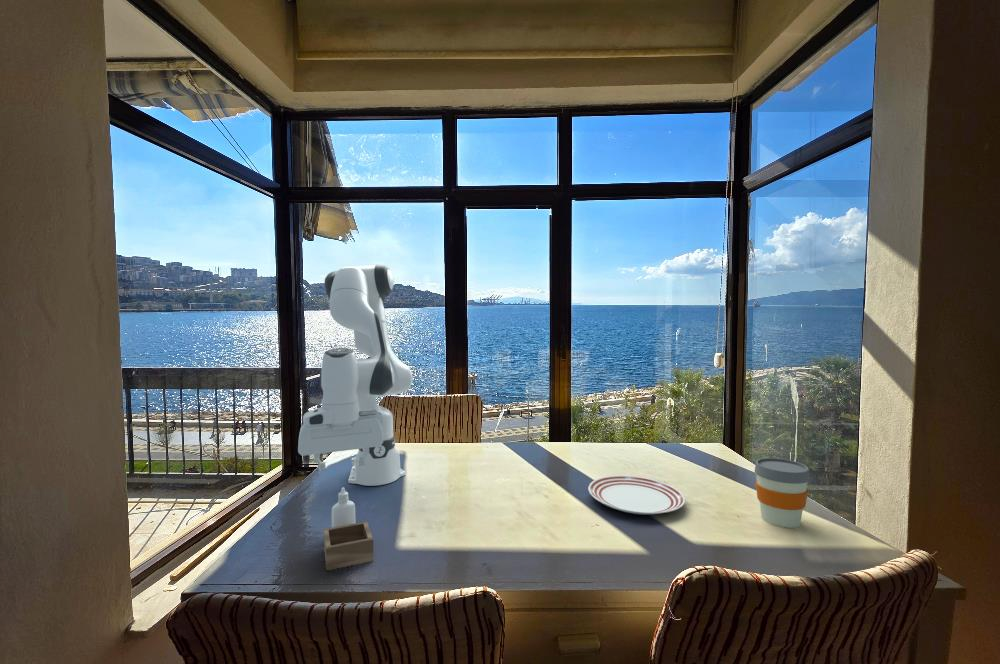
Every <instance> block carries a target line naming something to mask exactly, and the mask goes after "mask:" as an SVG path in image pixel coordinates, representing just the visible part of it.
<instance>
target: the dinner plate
mask: <svg viewBox="0 0 1000 664" xmlns="http://www.w3.org/2000/svg"><path fill="white" fill-rule="evenodd" d="M587 489H588V493H589V495H591V497H592V498H594V500H596V501H598V502H599V503H601V504H603V505H604V506H606V507H609V508H611V509H614V510H618V511H620V512H622V513H627V514H631V515H632V514H633V515H646V516H647V515H657V514H658V515H660V514H665V513H671V512H675V511H677V510H680V509H681V508H682V507H683V506H684V505H685V503H686V498H685V495H684V494H683V493H682V492H681V491H680V490H679V489H677V488H676V487H674V486H672V485H670V484H667V483H665V482H663V481H660V480H657V479H653V478H648V477H644V476H636V475H621V474H620V475H607V476H602V477H599V478H597V479H594V480H592V481H591V482H590V483H589V485H588V487H587Z"/></svg>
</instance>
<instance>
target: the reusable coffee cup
mask: <svg viewBox="0 0 1000 664" xmlns="http://www.w3.org/2000/svg"><path fill="white" fill-rule="evenodd" d="M754 473H755V475H756V476H755V477H756V480H755V489H756V496H757V497H756V498H757V500H758V501H759V508H760V517H761V519H762V520H763V522H764V521H765V522H766V523H768V524H770V525H773V526H776V527H782V528H787V529H788V528H791V529H793V528H798V527H799V526H800V525H801V521H802V518H803V517H802V516H803V510H804V509H805V508H806V504H807V500H808V493H809V489H808V482H809V481H810V470H809V467H808V466H807V465H806V464H803V463H801V462H799V461H794V460H790V459H785V458H779V457H762V458H759V459H758V458H757V459H756V461H755V466H754Z"/></svg>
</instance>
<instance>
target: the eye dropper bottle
mask: <svg viewBox="0 0 1000 664" xmlns="http://www.w3.org/2000/svg"><path fill="white" fill-rule="evenodd" d="M337 499H338V500H337V503H335V504H334V505H333V506H331V528H332V527H338V526H343V525H349V524H354V523H357V522H356V521H357V520H356V505H355V503H354V502H353V501H352V500H349V492H348V491H346V488H345V487H341V490H340V492H338V494H337Z"/></svg>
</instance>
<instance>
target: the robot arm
mask: <svg viewBox="0 0 1000 664" xmlns="http://www.w3.org/2000/svg"><path fill="white" fill-rule="evenodd" d="M394 282H395V281H394V276H393V273H392V272H391V269H390V268H389V267H388V266H387V265H384V264H375V265H361V266H360V265H358V266H352V265H351V266H350V265H348V266H344V267H341V268H339V269H338V270H334V271H332V272H331V271H330V272H329V273H328V274H327V275H326V276H325V278H324V291H325V293H326V296H327V298H328V299H329V312H330V313H329V314H330V316H331V318H332V319H333V320H334V321H335V322H336V323H337V324H339V325H340V326H342V327H344V328H345V329H348V330H352V331H353V335H354V336H353V337H354V345H355V348H356V349H357V350H358V351H359V352H360V353H361V354H364V355H366V356H368V357H369V358H357V355H356V352H355V350H353V349H351V348H347V347H336V348H335V347H334V348H331V349H328V350H326V351H325V352H324V353H323V355H322V356H323V357H322V360H321V361H322V363H321V368H320V370H319V387H320V388H321V390H322V395H323V396H322V399H321V406H320V407H318V408H314V409H313V410H311V411H307V412H305V413H304V414H303V416H302V422H303V424H302V425H301V427H300V430H299V434H298V435H299V436H298V444H297V445H298V446H297V452H298V454H299V455H300V456H302V457H304V456H310V455H311V456H312V455H313V459H314V461H315V462H316V463H317V464H318V471H319V472H325V471H326V462H322V460H321V459H320V458H321V454H327V453H334V452H335V453H337V452H343V451H345V452H346V451H351V450H358V451H357V453H356V455H355V456H354V457H352V458H351V465H352V467H351V470H350V474H349V477H348V479H347V480H348V484H357V485H361V486H365V487H367V486H369V487H371V486H372V487H373V486H382V485H387V484H390V483H394V482H395V481H397V480H398V479H400V478H401V477H403V476H405V475H406V471H405V470H404V469H402V467H401V459H400V451H398V450H397V449H396V448H395V447H396V438H395V435H394V415H393V413H392V411H391V410H390V409H388V408H386V407H383V406H382V405H378V402H377V398H378V397H386V396H394V395H395V396H396V395H399V394H402V393H405V392H407V391H409V390H410V388H411V387H412V384H413V382H414V379H413V378H414V377H413V373H412V372H413V371H412V370H411V368H410V367H409V365H407V364H406V363H404V362H403V361H402V360H401V359H399V357H397V355H396V354H395V352H394V350H393V349H392V346H391V343H390V338H389V332H388V325H387V324H388V323H387V316H386V311H385V306H384V303H383V302H385V301H386V299H387V298H388V297H389V296H391V294H392V292H393V290H394Z"/></svg>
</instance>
